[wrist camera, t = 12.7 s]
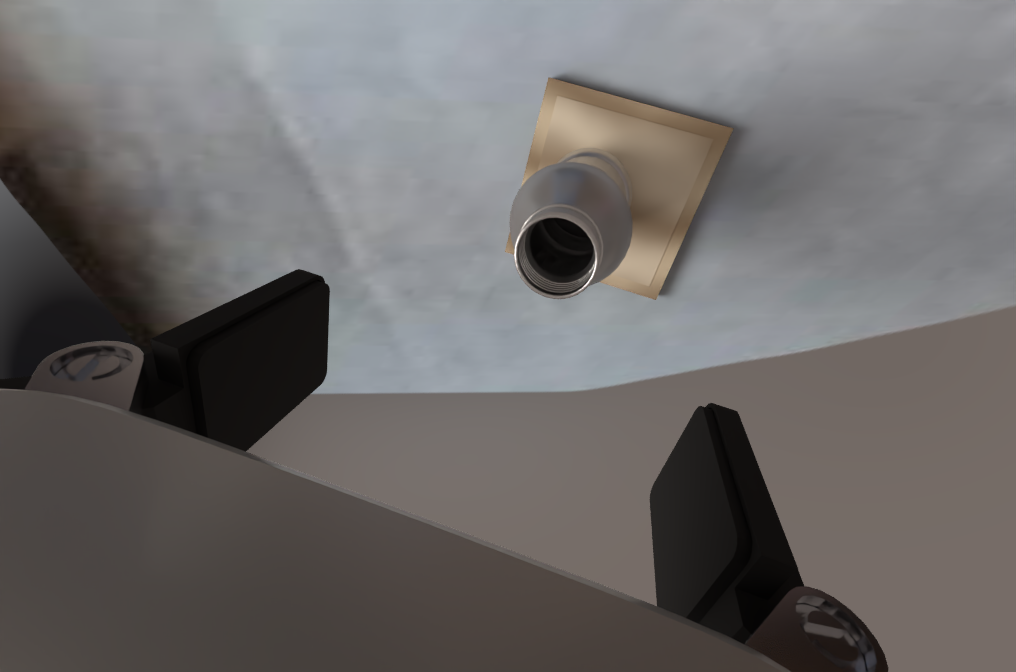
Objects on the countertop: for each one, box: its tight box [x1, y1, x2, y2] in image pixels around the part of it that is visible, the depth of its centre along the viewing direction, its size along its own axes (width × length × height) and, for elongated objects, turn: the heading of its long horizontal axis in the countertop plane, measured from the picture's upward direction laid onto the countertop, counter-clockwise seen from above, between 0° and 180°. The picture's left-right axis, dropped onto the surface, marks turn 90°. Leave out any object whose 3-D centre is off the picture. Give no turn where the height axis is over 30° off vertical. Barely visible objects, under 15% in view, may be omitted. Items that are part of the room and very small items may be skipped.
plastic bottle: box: [510, 148, 633, 299], centre depth 27 cm, size 6×7×20 cm
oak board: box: [505, 78, 733, 300], centre depth 36 cm, size 14×14×1 cm
